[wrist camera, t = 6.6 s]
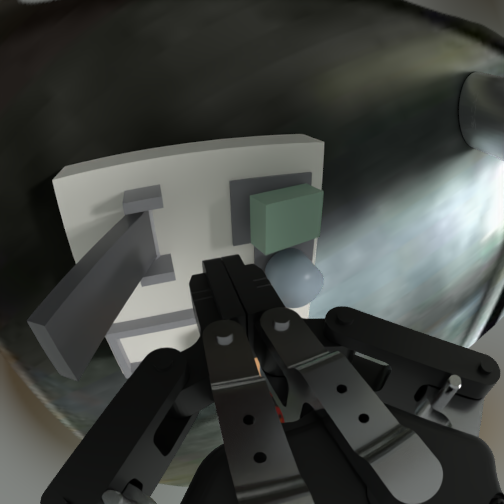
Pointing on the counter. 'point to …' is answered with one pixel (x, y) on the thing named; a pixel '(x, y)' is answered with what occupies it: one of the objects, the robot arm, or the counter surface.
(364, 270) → the counter surface
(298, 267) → the push button
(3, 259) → the counter surface
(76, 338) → the paddle lever
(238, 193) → the panel
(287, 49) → the counter surface
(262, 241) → the block
